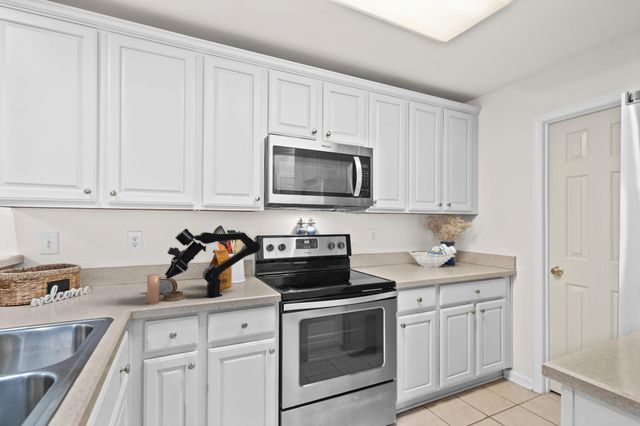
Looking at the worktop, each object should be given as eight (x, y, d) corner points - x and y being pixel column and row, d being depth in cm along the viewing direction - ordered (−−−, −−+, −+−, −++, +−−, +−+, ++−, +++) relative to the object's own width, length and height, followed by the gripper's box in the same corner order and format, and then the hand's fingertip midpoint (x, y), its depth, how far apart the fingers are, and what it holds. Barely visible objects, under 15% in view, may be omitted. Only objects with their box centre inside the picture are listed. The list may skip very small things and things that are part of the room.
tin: (177, 293, 174) (177, 277, 174) (173, 295, 171) (173, 278, 171) (154, 292, 178) (154, 276, 178) (149, 293, 175) (149, 277, 175)
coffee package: (205, 289, 183) (205, 249, 184) (220, 285, 195) (220, 248, 195) (219, 291, 179) (219, 250, 180) (234, 286, 190) (234, 248, 191)
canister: (161, 302, 156) (161, 274, 156) (150, 304, 152) (150, 276, 152) (155, 301, 159) (155, 273, 159) (145, 303, 154) (145, 275, 155)
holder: (187, 298, 163) (187, 292, 163) (169, 302, 156) (169, 295, 156) (176, 296, 168) (176, 290, 169) (159, 299, 161) (159, 293, 161)
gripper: (176, 240, 169) (152, 263, 163) (180, 242, 152) (153, 268, 147) (192, 254, 172) (169, 277, 167) (198, 258, 156) (172, 284, 151)
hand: (166, 276), depth 158 cm, fingers open, 9 cm apart
